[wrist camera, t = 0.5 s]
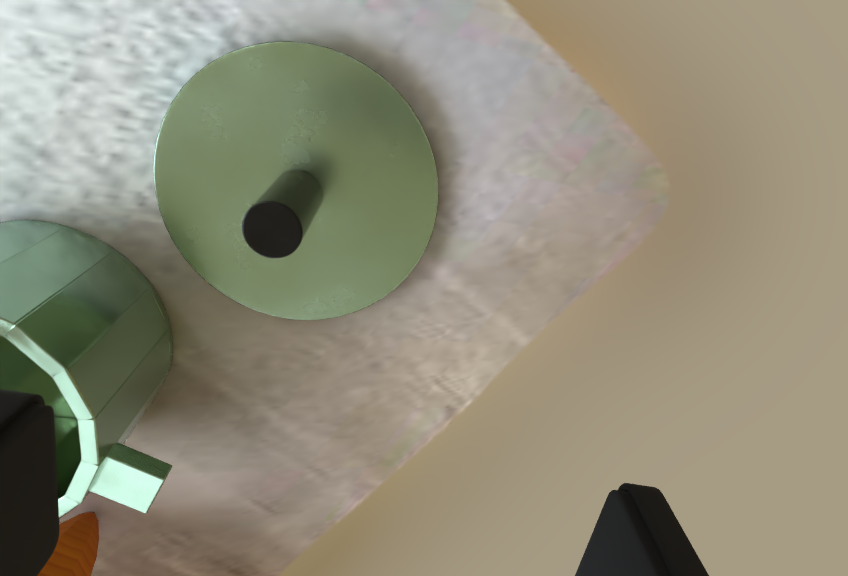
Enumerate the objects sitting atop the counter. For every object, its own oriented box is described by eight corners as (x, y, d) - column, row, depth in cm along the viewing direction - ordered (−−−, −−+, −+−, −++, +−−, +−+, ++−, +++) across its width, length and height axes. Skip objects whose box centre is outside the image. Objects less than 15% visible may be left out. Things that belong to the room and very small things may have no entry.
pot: (-91, 144, 28) (-287, 188, 20) (255, 316, 32) (203, 409, 24) (-141, 342, 32) (-318, 442, 24) (169, 472, 36) (102, 593, 28)
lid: (230, -23, 25) (172, -40, 19) (490, 142, 28) (511, 172, 22) (122, 233, 30) (48, 285, 24) (356, 351, 33) (343, 424, 27)
